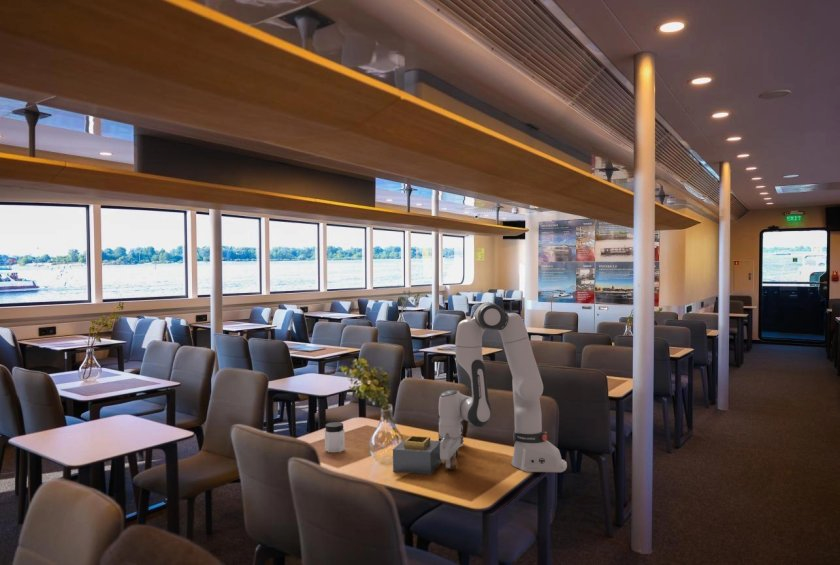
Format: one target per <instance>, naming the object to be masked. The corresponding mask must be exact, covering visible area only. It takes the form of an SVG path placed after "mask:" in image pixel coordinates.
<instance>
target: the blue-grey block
mask: <svg viewBox="0 0 840 565" xmlns="http://www.w3.org/2000/svg"><path fill="white" fill-rule="evenodd" d="M440 442H441V441H439V440H431V437H430V436H422V435H420V436H419V435H410V436H409V437H408V438H405V439H403V440H402V441H401V442H400V443H399V444H397V446H395V447H393V449H392V472H397V473H406V474H417V475H418V474H419V475H428V476H431V475H432V474H433V473H434V471H435V470H437V468H438V467H439V466H440V465H441V464H442V461H443V460H441V459H440Z"/></svg>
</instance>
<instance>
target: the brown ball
mask: <svg viewBox="0 0 840 565" xmlns="http://www.w3.org/2000/svg"><path fill="white" fill-rule="evenodd" d="M450 462H451V467H450V468H447V467H446V462H445V460H443V464H444V467H445V468H446V469H447V470H450V471H451V470H452V471H453V470H455V469H456V468H457V467H458V459H457V458H456V456H455V457H454V456H452V457H451V459H450Z"/></svg>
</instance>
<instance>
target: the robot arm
mask: <svg viewBox="0 0 840 565" xmlns="http://www.w3.org/2000/svg"><path fill="white" fill-rule="evenodd" d="M486 330H488V331H489V330H490V331H495V330H496V331H498V332H499V334H500V338H501V342H502V345H503V350H504V353H505V357H506V361H507V364H508V366H509V370H510V373H511V376H512V383H511V384H512V396H513V399H512V400H513V410H514V411H513V412H514V413H513V414H514V430H513V444H514V447H513V448H514V449H513V455H512V459H511V462H510V463H511V465H512V466H513V467H515V468H516V469H520V470H521V471H522V472H526V473H527V472H529V473H530V472H531V473H534V472H535V473H563V472H565V471H566V470H567V468H568V463H567V461H566V460H565V459H562V455H561V452H560V449H559V448H557V446H555V445H554V444H553V443H551V442H550V441H548V435H547V434H548V433H547V431H544V430H543V428H542V427H543V426H542V420H543V419H542V409H541V401H540V400H541V399H540V398H541V396H542V395H543V392H544V384H543V380H542V377H541V373H540V370H539V367H538V364H537V361H536V358H535V355H534V352H533V348H532V347H533V346H532V344H531V341H530V336H529V334H528V329H527V327H526V324H525V322H524V319H523V318H522V316H521V315H520V314H518V313H515V312H508V313H507V312H506V311H505V310H504V309H503V308H501V306H500V305H498V304H496V303H494V302H490V301H489V302H482V303H480V304H479V305H477V306H476V307H475V309H474V312H472V315H471V316H470V318H464V319H463V320H460V321H459V323H458V324H457V327H456V331H455V332H456V334H455V343H454V344H455V347H454V348H455V358H456V362H457V363H458V364H459V366H460V367H462V369H464V370H465V371H466V373H467V375H468V376H469V379H470V385H471V396H469V395H465V394H463V393H461V392H460V391H459V390H457V389H452V390H450V389H449V390H445V391H443V392H442V393H440V395H439V399H438V409H439V416H440V421H439V433H438V436H439V435H440V436H441V437H442V440H441V442H440V459H441V460H442V461H444V460H445V462H446V467H447V468H450V467H451V462H450V459H451V457H452V456H454V457H455V458H456V450H457V449H459V448H460V447H461V446H460V443H461V431H462V426H463V424H462V425H461V420H462V421H466V422H468V423H470V424H471V425H473V426H474V427H477V428H481V427H484V426H486V425H487V424H488V423H489V422H490V420H491V418H492V414H493V410H492V405H491V404H490V401H489V400H490V399H489V393H488V384H487V383H488V381H487V372H486V371H487V370H486V366H485V363H484V356H483V335H484V333H485V331H486ZM456 390H457V391H456ZM458 391H459V392H460V393H459V392H458ZM446 467H445V468H446ZM447 468H446V469H447Z"/></svg>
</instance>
